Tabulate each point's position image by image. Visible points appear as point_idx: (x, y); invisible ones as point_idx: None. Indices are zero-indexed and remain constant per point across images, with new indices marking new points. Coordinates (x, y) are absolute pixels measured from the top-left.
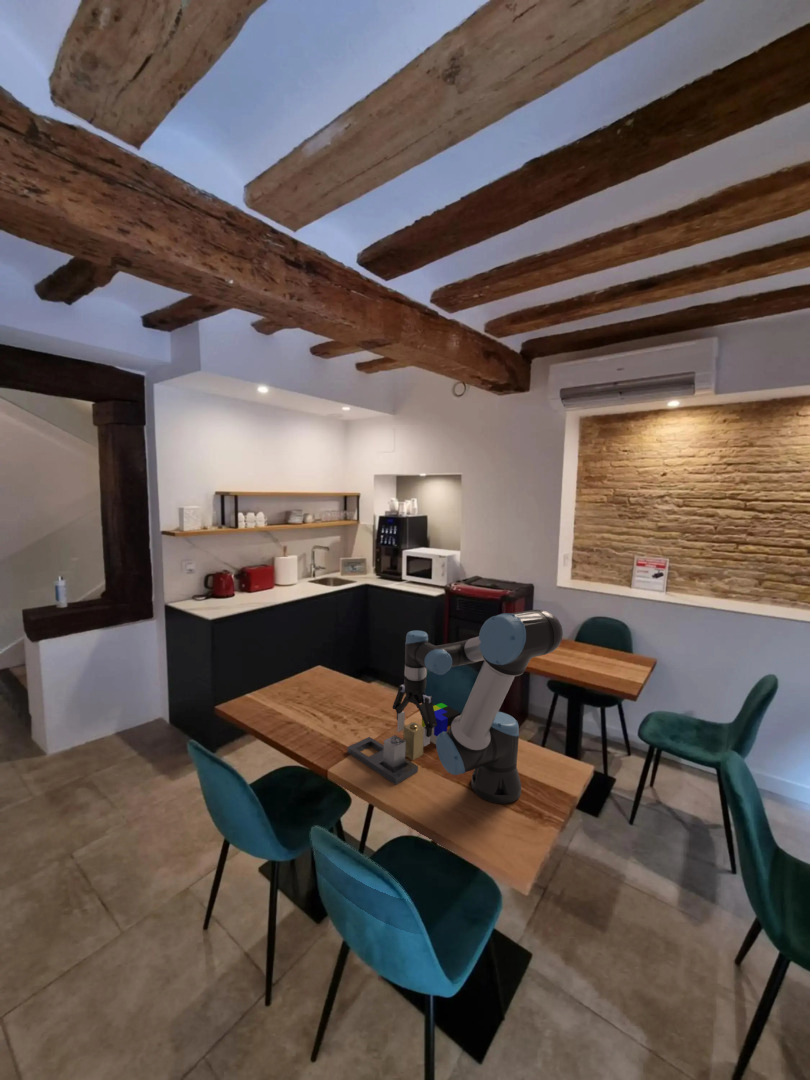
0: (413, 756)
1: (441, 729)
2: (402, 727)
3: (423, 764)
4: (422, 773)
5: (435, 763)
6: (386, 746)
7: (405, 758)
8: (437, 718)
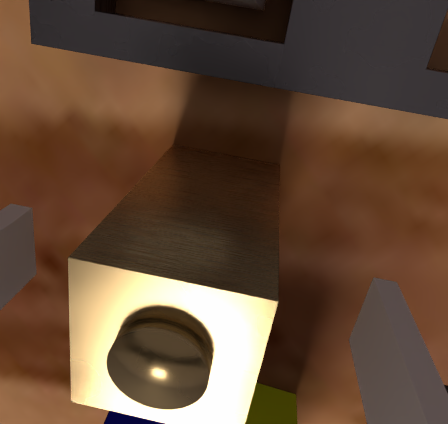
0: (164, 154)
1: None
2: (362, 342)
3: (90, 147)
4: (23, 48)
5: (46, 201)
6: None
7: (174, 68)
8: None
